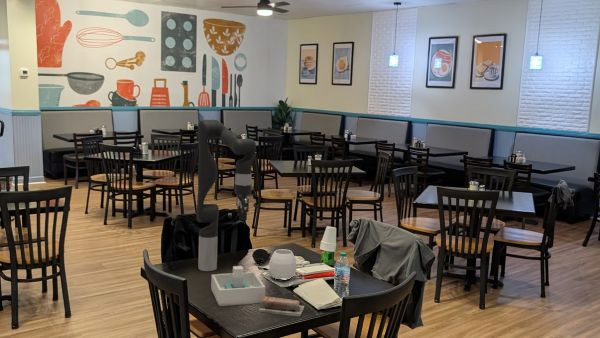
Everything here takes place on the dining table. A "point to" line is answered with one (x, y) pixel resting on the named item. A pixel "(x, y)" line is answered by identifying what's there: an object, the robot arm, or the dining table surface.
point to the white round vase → (282, 264)
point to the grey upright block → (237, 277)
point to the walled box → (237, 289)
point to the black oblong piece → (261, 256)
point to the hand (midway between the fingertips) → (241, 218)
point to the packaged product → (281, 306)
